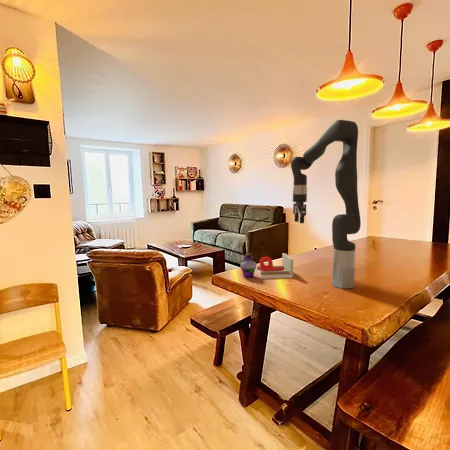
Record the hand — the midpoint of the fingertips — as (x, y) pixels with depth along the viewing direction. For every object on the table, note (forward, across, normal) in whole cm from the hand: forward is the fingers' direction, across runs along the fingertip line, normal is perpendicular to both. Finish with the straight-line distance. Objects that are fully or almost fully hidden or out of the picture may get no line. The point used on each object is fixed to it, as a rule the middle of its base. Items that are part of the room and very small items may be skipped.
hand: (299, 222), depth 161 cm
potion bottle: (+26, -13, +31) cm, 43 cm away
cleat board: (+26, -11, +17) cm, 33 cm away
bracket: (+24, -13, +18) cm, 33 cm away
